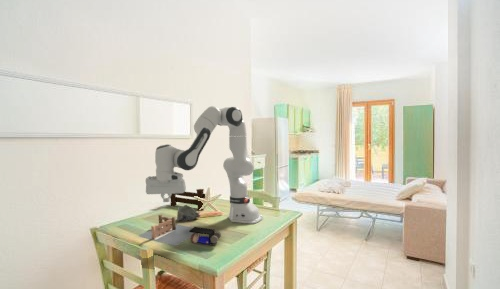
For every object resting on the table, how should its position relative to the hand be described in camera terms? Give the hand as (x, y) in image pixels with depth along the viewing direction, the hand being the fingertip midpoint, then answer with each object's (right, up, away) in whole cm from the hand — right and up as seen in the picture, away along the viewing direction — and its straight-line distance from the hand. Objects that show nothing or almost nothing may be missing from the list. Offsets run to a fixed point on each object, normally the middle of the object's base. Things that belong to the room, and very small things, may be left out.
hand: (166, 201), depth 132 cm
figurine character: (+21, -20, -5) cm, 30 cm away
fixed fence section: (-4, -19, +15) cm, 24 cm away
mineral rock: (+4, -19, +29) cm, 34 cm away
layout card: (0, -20, +8) cm, 21 cm away
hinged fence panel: (-4, -19, +6) cm, 20 cm away
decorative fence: (-4, -17, +57) cm, 59 cm away
